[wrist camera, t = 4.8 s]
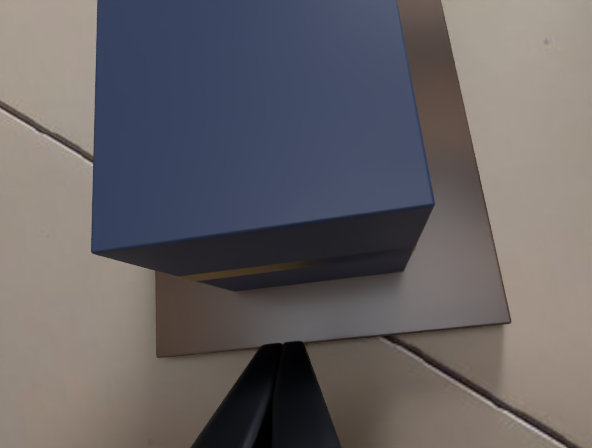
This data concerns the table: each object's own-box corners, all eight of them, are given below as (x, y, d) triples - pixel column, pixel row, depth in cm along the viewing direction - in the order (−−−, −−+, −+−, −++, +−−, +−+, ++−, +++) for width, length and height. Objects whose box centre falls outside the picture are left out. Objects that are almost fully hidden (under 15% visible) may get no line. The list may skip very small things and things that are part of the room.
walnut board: (505, 323, 14) (512, 323, 13) (166, 356, 16) (155, 358, 15) (400, -163, 20) (401, -183, 19) (158, -98, 22) (150, -114, 21)
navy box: (405, 271, 14) (437, 205, 7) (232, 291, 15) (87, 254, 8) (364, 19, 17) (354, -236, 9) (218, 50, 18) (99, -160, 10)
